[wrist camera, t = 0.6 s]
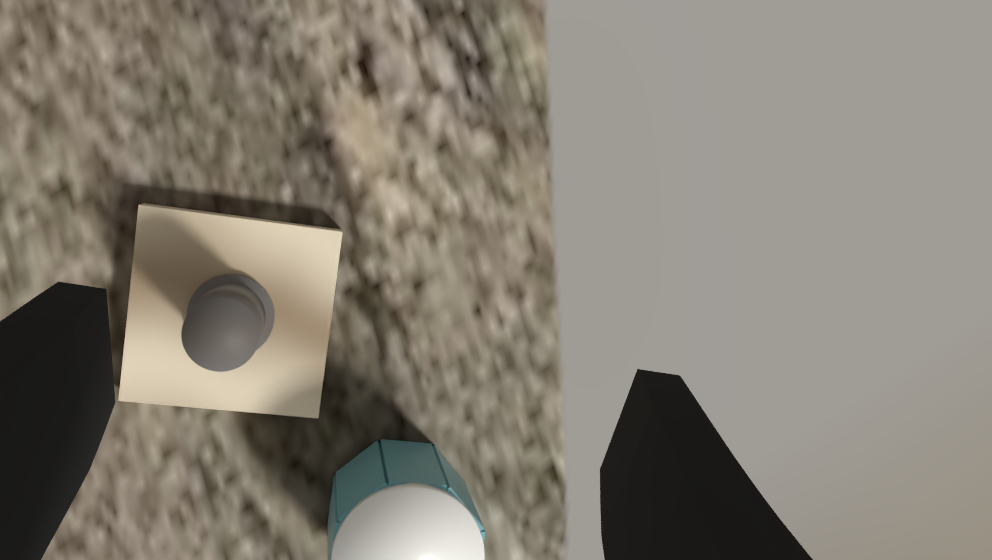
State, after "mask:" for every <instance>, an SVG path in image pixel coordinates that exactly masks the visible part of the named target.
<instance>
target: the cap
mask: <svg viewBox="0 0 992 560" xmlns="http://www.w3.org/2000/svg"><path fill="white" fill-rule="evenodd" d="M327 534H328V560H484V545H483V544H484V537H485V530H484V527H483V524H482V522H481V520H480V517H479V515H478V513H477V510H476V508H475V506H474V503H473V501H472V499H471V496H470V494H469V492H468V489H467V487H466V485H465V482H464V481H463V480H462V478H461V477H460V476H459V475H458V473H457V472H456V471H455V470H454V469H453V467H452V466H451V465H450V464H449V462H448V461H447V460H446V459H445V457H444V456H443V455H442V454H441V452H440V451H439V450H438V449H437V448H436V446H435V445H434V446H432V444H431V443H422V442H410V441H398V440H386V439H381V440H380V443H379V442H378V441H375V442H374V443H373V444H371V445H370V446H369V447H368V448H366V449H365V450H364V451H362V452H361V453H360V454H359V455H357V456H356V457H355V458H353V459H352V460H351V461H349V462H348V463H347V464H346V465H344V466H343V467H342V468H340V469H339V470H338V471H337V472H336V475H334V478H333V486H332V493H331V501H330V508H329V516H328V524H327Z"/></svg>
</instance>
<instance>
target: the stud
mask: <svg viewBox="0 0 992 560" xmlns="http://www.w3.org/2000/svg"><path fill="white" fill-rule="evenodd" d="M341 239H342V229H334V228H327V227H319V226H312V225H304V224H297V223H289V222H282V221H274V220H267V219H259V218H252V217H244V216H237V215H229V214H222V213H214V212H207V211H199V210H192V209H184V208H176V207H169V206H161V205H154V204H146V203H143V204H140V205H138V215H137V225H136V234H135V244H134V254H133V264H132V273H131V283H130V293H129V303H128V312H127V322H126V332H125V342H124V351H123V361H122V371H121V381H120V390H119V400H118V401H127V402H138V403H149V404H161V405H172V406H183V407H194V408H206V409H217V410H228V411H240V412H251V413H262V414H273V415H285V416H296V417H307V418H318V417H319V409H320V402H321V394H322V386H323V378H324V371H325V363H326V355H327V347H328V340H329V332H330V324H331V317H332V309H333V301H334V293H335V286H336V278H337V270H338V263H339V255H340V247H341Z"/></svg>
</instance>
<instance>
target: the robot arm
mask: <svg viewBox="0 0 992 560" xmlns="http://www.w3.org/2000/svg"><path fill="white" fill-rule="evenodd" d="M114 405H115V393H114V380H113V368H112V355H111V343H110V330H109V318H108V305H107V293H106V289H103V288H96V287H89V286H83V285H76V284H70V283H63V282H57V283H56V284H54V285H53V286H51V287H50V288H48V289H47V290H45V291H44V292H42V293H41V294H39V295H38V296H36V297H35V298H33V299H32V300H31V301H29V302H28V303H26V304H25V305H23V306H22V307H20V308H19V309H17V310H16V311H15V312H13V313H12V314H10V315H9V316H7V317H6V318H5V319H3V320H2V321H0V560H41V558H42V556H43V554H44V553H45V551H46V549H47V547H48V545H49V544H50V542H51V540H52V538H53V536H54V535H55V533H56V531H57V529H58V527H59V525H60V524H61V522H62V520H63V518H64V516H65V514H66V513H67V511H68V509H69V507H70V505H71V503H72V501H73V500H74V498H75V496H76V494H77V492H78V490H79V488H80V487H81V485H82V483H83V481H84V479H85V477H86V475H87V473H88V471H89V470H90V467H91V465H92V462H93V460H94V457H95V455H96V452H97V450H98V447H99V445H100V442H101V440H102V437H103V434H104V431H105V429H106V426H107V423H108V421H109V418H110V415H111V413H112V410H113V407H114ZM600 492H601V494H600V500H601V501H600V503H601V533H602V543H603V550H604V557H605V560H813V559H812V558H811V557H810V556H809V555H808V554H807V552H806V551H805V550H804V549H803V547H802V546H801V545H800V544H799V542H798V541H797V540H796V539H795V537H794V536H793V535H792V534H791V532H790V531H789V530H788V529H787V528H786V526H785V525H784V524H783V522H782V521H781V520H780V519H779V517H778V516H777V515H776V513H775V512H774V511H773V509H772V508H771V507H770V506H769V504H768V503H767V502H766V500H765V499H764V498H763V496H762V495H761V493H760V492H759V491H758V490H757V488H756V487H755V485H754V484H753V483H752V481H751V480H750V478H749V477H748V476H747V474H746V473H745V471H744V470H743V469H742V467H741V466H740V464H739V463H738V461H737V460H736V459H735V457H734V456H733V454H732V453H731V451H730V450H729V448H728V447H727V446H726V444H725V442H724V441H723V439H722V438H721V437H720V435H719V433H718V432H717V431H716V429H715V428H714V426H713V425H712V423H711V422H710V420H709V419H708V417H707V416H706V414H705V412H704V411H703V409H702V408H701V406H700V405H699V403H698V402H697V400H696V399H695V397H694V396H693V395H692V393H691V391H690V390H689V388H688V387H687V385H686V384H685V383H684V381H683V380H682V378H681V377H680V376H679V375H672V374H666V373H660V372H652V371H646V370H640V369H637V372H636V375H635V377H634V380H633V383H632V386H631V388H630V391H629V394H628V396H627V399H626V402H625V404H624V407H623V410H622V412H621V415H620V418H619V420H618V423H617V426H616V428H615V431H614V434H613V436H612V439H611V442H610V444H609V447H608V450H607V452H606V455H605V458H604V460H603V463H602V466H601V468H600Z"/></svg>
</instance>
